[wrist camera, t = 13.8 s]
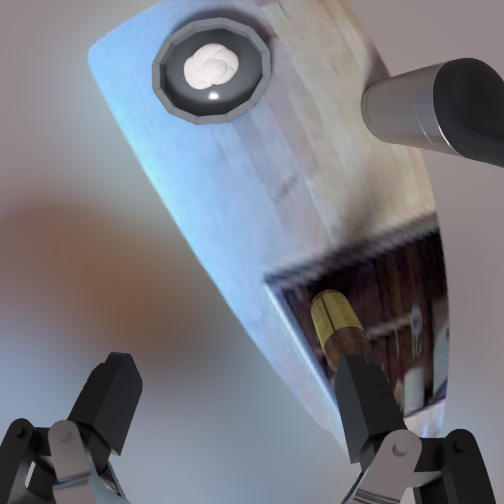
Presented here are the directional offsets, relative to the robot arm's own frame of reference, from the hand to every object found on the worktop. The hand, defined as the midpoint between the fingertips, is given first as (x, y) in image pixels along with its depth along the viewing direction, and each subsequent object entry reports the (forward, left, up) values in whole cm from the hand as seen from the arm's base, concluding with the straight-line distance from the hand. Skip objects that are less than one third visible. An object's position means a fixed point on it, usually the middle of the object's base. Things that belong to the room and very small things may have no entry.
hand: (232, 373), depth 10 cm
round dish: (+4, -17, -30) cm, 35 cm away
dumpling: (+4, -17, -30) cm, 34 cm away
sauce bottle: (-12, +18, -30) cm, 37 cm away
